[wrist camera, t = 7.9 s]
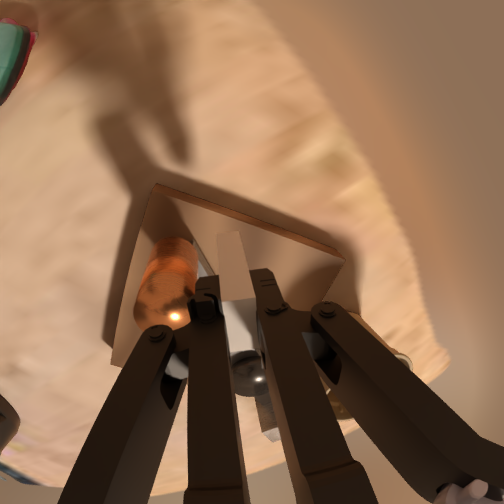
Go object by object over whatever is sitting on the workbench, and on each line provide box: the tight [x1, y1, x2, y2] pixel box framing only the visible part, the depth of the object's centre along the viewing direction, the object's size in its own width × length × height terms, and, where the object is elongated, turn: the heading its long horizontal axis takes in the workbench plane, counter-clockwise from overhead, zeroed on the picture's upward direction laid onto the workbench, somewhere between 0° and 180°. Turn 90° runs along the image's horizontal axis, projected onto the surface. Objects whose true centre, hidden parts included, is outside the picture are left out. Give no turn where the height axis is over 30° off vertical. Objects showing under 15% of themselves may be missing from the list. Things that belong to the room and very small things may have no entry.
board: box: [111, 184, 345, 384], centre depth 25 cm, size 16×18×2 cm
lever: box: [133, 237, 281, 442], centre depth 22 cm, size 23×5×8 cm, turn 24°
